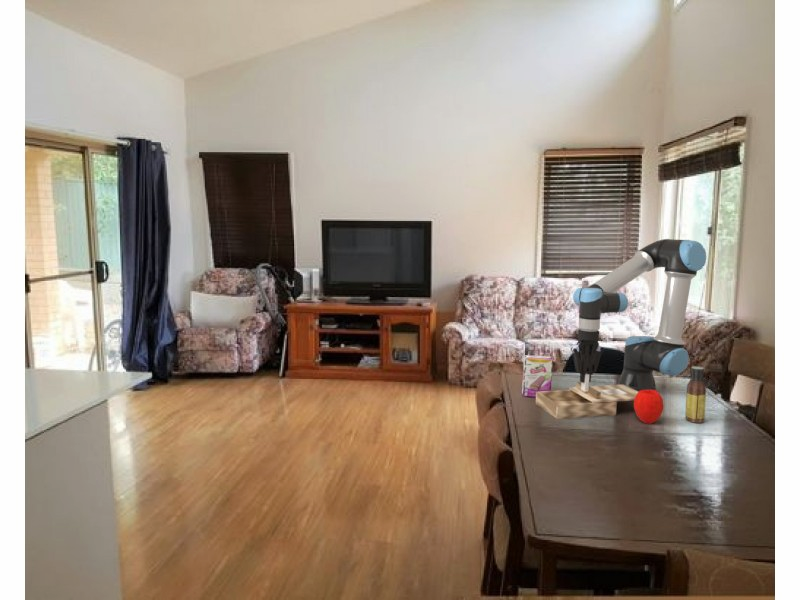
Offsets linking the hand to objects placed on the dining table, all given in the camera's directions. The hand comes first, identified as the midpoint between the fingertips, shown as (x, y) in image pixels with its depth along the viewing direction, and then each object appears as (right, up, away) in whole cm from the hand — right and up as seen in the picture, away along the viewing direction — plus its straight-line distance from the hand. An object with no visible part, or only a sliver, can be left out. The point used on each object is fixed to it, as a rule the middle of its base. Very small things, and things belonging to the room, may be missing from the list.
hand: (584, 390), depth 218 cm
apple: (+19, -10, -12) cm, 24 cm away
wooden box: (-4, -7, 0) cm, 8 cm away
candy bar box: (-15, -5, +16) cm, 22 cm away
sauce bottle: (+37, -10, -10) cm, 39 cm away
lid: (+10, -2, +3) cm, 11 cm away
